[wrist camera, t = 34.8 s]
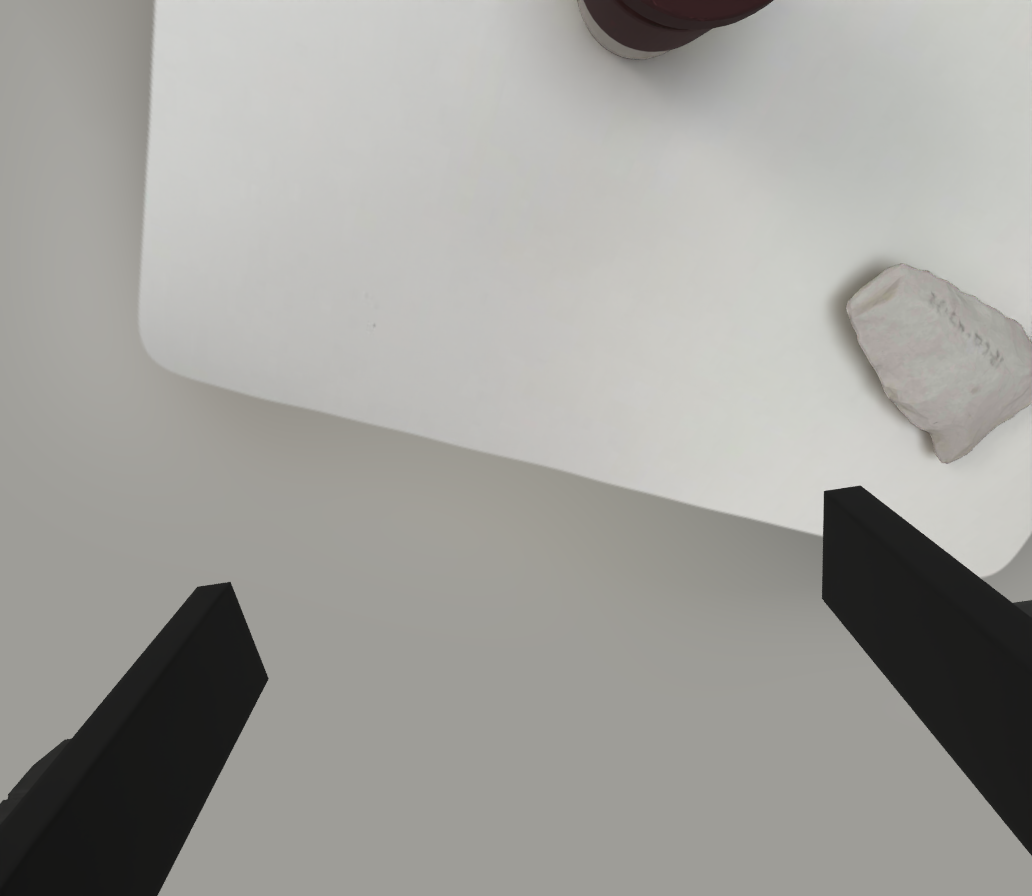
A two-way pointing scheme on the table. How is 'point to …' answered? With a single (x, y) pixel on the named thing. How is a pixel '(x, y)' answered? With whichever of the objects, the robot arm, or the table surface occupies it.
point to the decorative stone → (942, 356)
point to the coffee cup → (659, 22)
